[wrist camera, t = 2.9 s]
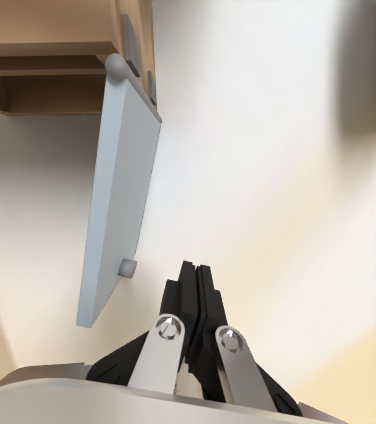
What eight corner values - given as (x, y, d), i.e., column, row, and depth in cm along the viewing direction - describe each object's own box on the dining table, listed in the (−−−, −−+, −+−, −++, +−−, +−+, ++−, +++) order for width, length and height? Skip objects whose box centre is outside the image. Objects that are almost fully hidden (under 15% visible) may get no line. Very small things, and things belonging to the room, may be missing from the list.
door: (173, 120, 20) (153, 64, 9) (144, 254, 24) (106, 335, 13) (153, 114, 19) (106, 50, 8) (127, 251, 23) (73, 328, 12)
